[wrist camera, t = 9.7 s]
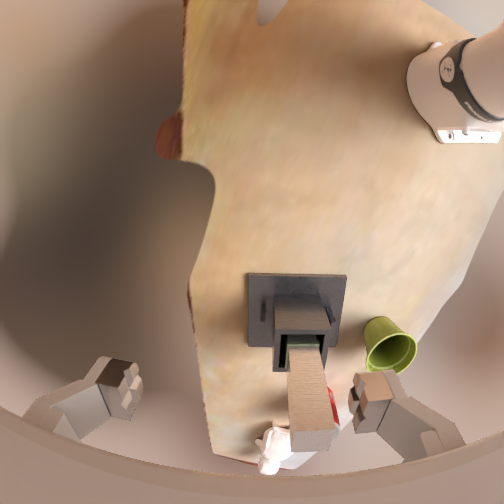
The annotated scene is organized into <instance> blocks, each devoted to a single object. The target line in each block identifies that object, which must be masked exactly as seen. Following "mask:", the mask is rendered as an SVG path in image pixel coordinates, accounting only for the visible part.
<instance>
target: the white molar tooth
mask: <svg viewBox="0 0 504 504" xmlns="http://www.w3.org/2000/svg"><path fill="white" fill-rule="evenodd" d="M272 425H273V426H272V427H271V428H269V429H267V430H266V431H265V432H264V437H263V440H260V439H256V441H255V443H256V444H257V445H258V446H259V447H260V448H261V455H262V457H261V458H260V461H259V463H258V468H259V471H260V473H262V474H266V475H273V474H275V473H276V472H277V471H278V469H279V466H280V461H282V460H285V459H287V458H289V457H290V456H291V455H292V454H293V453H294V452H291V447H290V429H285V428H280V427H278V424H277V423H276V422H272Z"/></svg>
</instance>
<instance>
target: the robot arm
mask: <svg viewBox="0 0 504 504" xmlns="http://www.w3.org/2000/svg"><path fill="white" fill-rule="evenodd" d="M407 87H408V92H409V95H410V98H411V100H412V103H413V104H414V106H415V108H416V110H417V111H418V113H419V114H420V115H421V116H422V117H423V119H424V120H425V121H426V122H427V123H428V124H429V125H430V126H431V127H432V129H433V131H434V133H435V135H436V137H437V139H438V140H439V142H441V143H443V144H449V143H497V142H498V141H499V139H500V136H501V133H502V132H504V20H503V22H502V23H501V24H500V26H499V27H497V28H496V29H494V30H493V31H491V32H489V33H487V34H486V35H484V36H482V37H480V38H478V39H477V38H471V39H466V40H463V41H460V40H455V41H452V42H449V43H446V44H442V43H440V42H436V43H433V44H432V45H431V46H430V48H429V49H428V51H426V52H424V53H422V54H419V55H418V56H416V57H415V58H414V59H413V60H412V61H411V63H410V65H409V68H408V71H407ZM448 134H449V136H450V138H449V137H448ZM138 372H139V368H138V365H137V364H136V363H135V362H130V361H125V360H119V359H115V358H109V357H104V356H102V357H100V358H99V359H98V360H97V362H96V363H95V364H94V366H93V367H92V368H91V370H90V371H89V372H88V374H87V375H86V377H85V378H84V379H83V380H78V381H76V382H73V383H71V384H69V385H67V386H65V387H62V388H60V389H58V390H56V391H54V392H51V393H49V394H47V395H44V396H42V397H40V398H38V399H36V400H35V401H34V402H33V404H32V405H31V406H30V408H29V409H28V410H27V411H26V413H25V414H24V415H23V417H20V416H18V415H16V414H14V413H12V412H10V411H8V410H6V409H4V408H3V407H1V406H0V504H504V430H502V431H499V432H497V433H495V434H493V435H490V436H488V437H485V438H483V439H480V440H478V441H475V442H473V443H470V444H467V445H466V444H465V442H464V440H463V438H462V436H461V434H460V432H459V430H458V428H457V427H456V425H455V423H453V422H452V421H450V420H448V419H447V418H445V417H443V416H442V415H440V414H438V413H437V412H435V411H434V410H432V409H430V408H429V407H427V406H425V405H424V404H422V403H421V402H419V401H417V400H416V399H414V398H413V397H407V394H406V392H405V390H404V388H403V386H402V385H401V382H400V380H399V378H398V376H397V374H396V372H395V371H394V370H393V369H391V370H382V371H373V372H361V373H356V374H355V375H354V378H353V383H354V386H353V387H352V388H351V389H350V392H349V398H348V405H349V410H350V413H352V414H353V415H354V417H353V420H352V422H353V426H354V430H355V433H356V434H357V433H369V432H377V434H378V435H379V436H381V437H382V438H383V439H384V440H385V441H386V442H387V443H388V444H389V445H390V446H391V447H392V448H393V449H394V450H395V451H396V452H398V453H399V454H400V455H401V456H402V457H403V458H404V461H403V462H402V463H401V464H396V465H391V466H386V467H381V468H375V469H368V470H362V471H354V472H347V473H337V474H326V475H313V476H285V477H271V476H269V477H268V476H267V477H266V476H265V477H264V476H242V475H228V474H218V473H209V472H200V471H193V470H186V469H180V468H174V467H169V466H164V465H159V464H154V463H150V462H145V461H141V460H137V459H132V458H129V457H125V456H121V455H118V454H114V453H111V452H107V451H104V450H101V449H98V448H94V447H92V446H89V445H86V444H83V443H81V441H80V439H82V438H83V437H85V436H86V435H88V434H89V433H91V432H92V431H93V430H95V429H96V428H98V427H99V426H100V425H102V424H103V423H105V422H106V421H107V420H109V419H110V418H111V417H115V418H119V419H124V420H129V421H130V420H131V418H132V416H133V414H134V412H135V410H136V408H135V405H134V404H135V403H137V402H139V401H140V399H141V397H142V393H143V383H142V379H141V378H140V377H139V376H138V375H137V374H138Z"/></svg>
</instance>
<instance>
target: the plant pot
mask: <svg viewBox="0 0 504 504" xmlns="http://www.w3.org/2000/svg"><path fill="white" fill-rule="evenodd" d="M363 336H364V341H365V345H366V350H367V358H366V368H367V370H368V372H373V371H382V370H391V369H393V370H394V371H395V372H396V374H399V373H401V372H402V371H404V370H405V369H406V368H407V367H408V366H409V365H410V364H411V363H412V361H413V360H414V358H415V356H416V353H417V343H416V340H415V339H414V338H413V337H412V336H411V335H409V334H407V333H405V332H403V331H402V330H400V329H399V328H398V327H397V326H396V325H395V324H394V323H393V322H392V321H391V320H390V319H389V318H387V317H377V318H374V319H372V320H371V321H370V322H369V323H368V324H367V325H366V326H365V329H364V334H363Z"/></svg>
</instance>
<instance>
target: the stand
mask: <svg viewBox="0 0 504 504" xmlns="http://www.w3.org/2000/svg"><path fill="white" fill-rule="evenodd" d="M346 280H347V277H346V275H316V274H270V273H249V280H248V346H251V347H272V354H273V372H286V368H285V358H286V357H285V336H286V334H316V338H317V341H319V351H320V356H321V360H322V365H323V369H325V363H326V358H327V353H328V347H336V342H337V336H338V331H339V325H340V319H341V313H342V307H343V301H344V294H345V287H346Z"/></svg>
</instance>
